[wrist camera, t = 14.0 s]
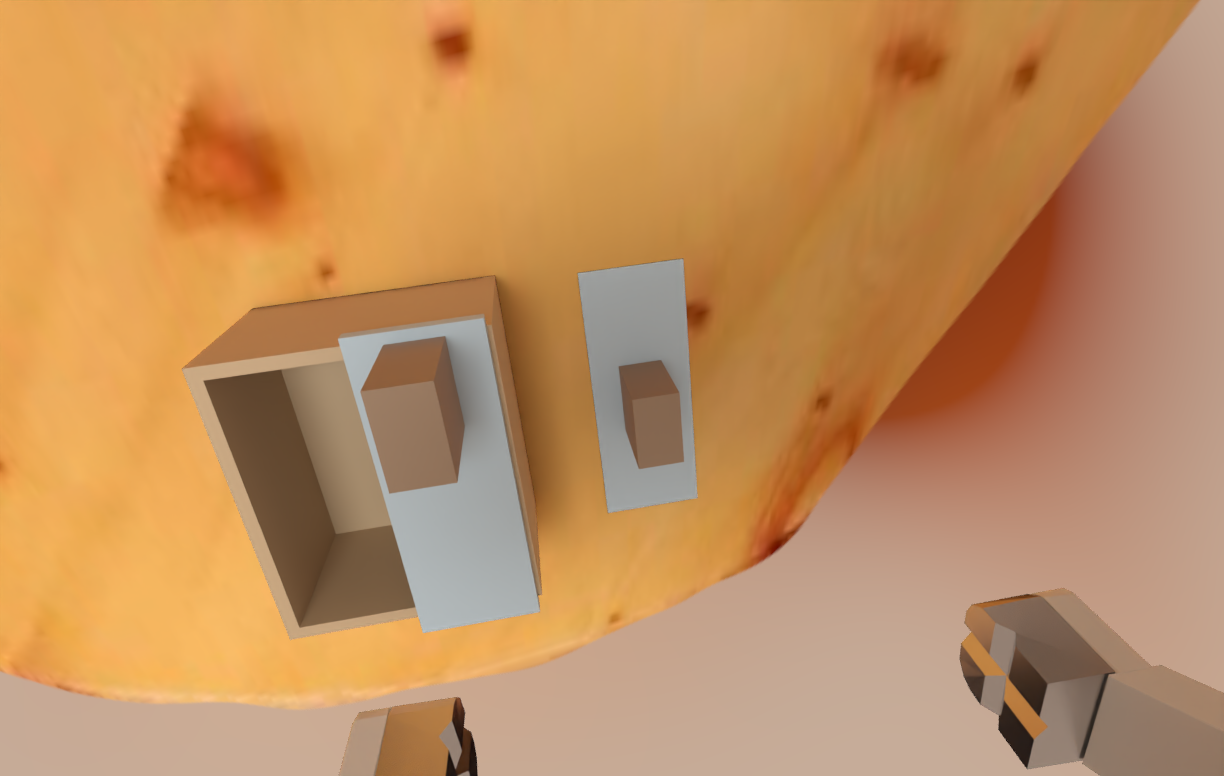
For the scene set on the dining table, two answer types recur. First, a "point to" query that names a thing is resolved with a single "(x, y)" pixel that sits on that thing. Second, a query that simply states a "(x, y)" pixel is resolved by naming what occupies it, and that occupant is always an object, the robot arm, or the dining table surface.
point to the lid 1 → (444, 467)
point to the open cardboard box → (329, 449)
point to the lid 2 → (641, 382)
